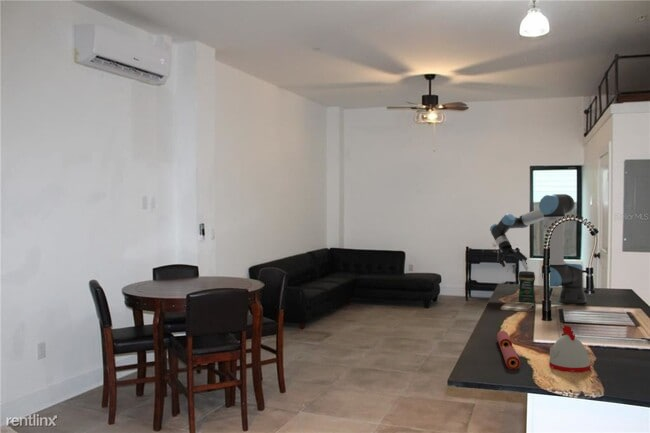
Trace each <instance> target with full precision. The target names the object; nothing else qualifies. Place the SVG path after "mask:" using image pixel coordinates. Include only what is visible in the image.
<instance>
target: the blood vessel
mask: <svg viewBox="0 0 650 433" xmlns="http://www.w3.org/2000/svg"><path fill="white" fill-rule="evenodd" d="M496 339H497V342H498V345H499V347H500V350H501V353H502V355H503V359H504V362H505V364H506V367H507V368H508V369H510V370H517V369H519V368H520V367H521V361H520V359H519V356H518V354H517V351H516V349H515V348H514V346H513V341H512V340H511V338H510V335H509V333H508V332H507V331H505V330H501V331H498V332H497V334H496Z"/></svg>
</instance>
